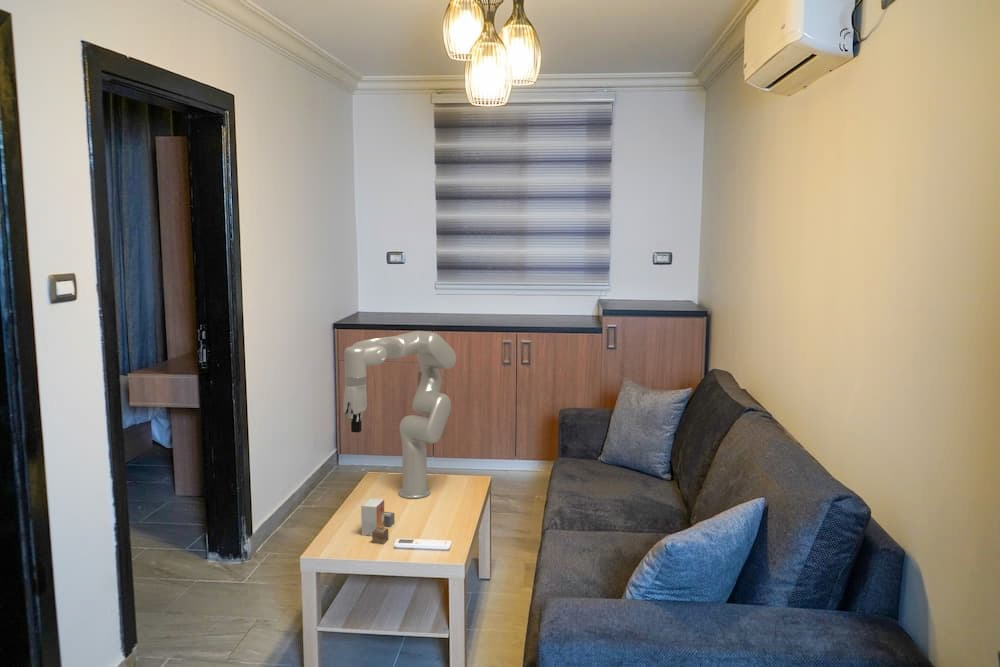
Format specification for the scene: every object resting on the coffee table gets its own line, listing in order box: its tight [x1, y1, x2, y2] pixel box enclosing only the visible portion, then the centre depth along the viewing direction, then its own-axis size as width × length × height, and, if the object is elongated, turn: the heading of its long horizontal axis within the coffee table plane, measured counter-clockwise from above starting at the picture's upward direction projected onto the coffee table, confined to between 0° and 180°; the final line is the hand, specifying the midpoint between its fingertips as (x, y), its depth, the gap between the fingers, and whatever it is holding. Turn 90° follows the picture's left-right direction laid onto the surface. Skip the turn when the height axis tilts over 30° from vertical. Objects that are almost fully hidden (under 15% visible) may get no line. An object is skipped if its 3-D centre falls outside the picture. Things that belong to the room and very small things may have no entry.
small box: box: [360, 497, 385, 537], centre depth 258 cm, size 8×6×10 cm
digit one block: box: [384, 511, 395, 529], centre depth 265 cm, size 4×4×4 cm
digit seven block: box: [371, 527, 389, 545], centre depth 250 cm, size 4×4×4 cm
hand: (356, 431), depth 267 cm, fingers closed
